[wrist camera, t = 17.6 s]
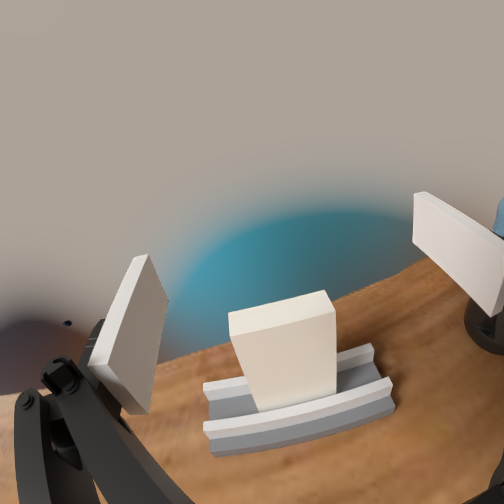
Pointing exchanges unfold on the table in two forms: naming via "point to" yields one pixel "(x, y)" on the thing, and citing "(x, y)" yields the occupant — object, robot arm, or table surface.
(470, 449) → the table surface
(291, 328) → the door panel
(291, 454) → the table surface
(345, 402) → the track
